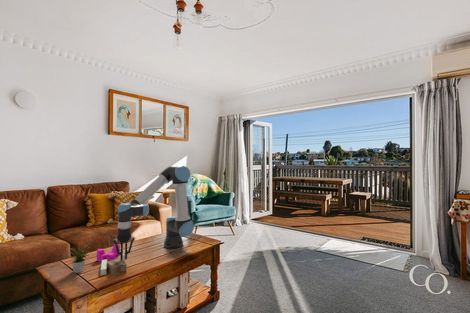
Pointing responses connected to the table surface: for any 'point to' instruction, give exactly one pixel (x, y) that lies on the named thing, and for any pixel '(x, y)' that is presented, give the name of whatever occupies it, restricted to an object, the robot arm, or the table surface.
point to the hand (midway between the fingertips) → (123, 264)
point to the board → (104, 267)
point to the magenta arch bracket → (107, 254)
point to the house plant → (78, 259)
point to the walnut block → (116, 266)
